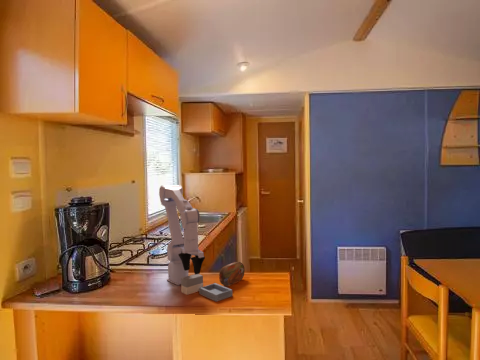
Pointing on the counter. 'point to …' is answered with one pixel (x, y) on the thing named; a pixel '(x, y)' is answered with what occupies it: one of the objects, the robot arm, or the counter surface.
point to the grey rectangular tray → (215, 292)
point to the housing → (191, 283)
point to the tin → (231, 273)
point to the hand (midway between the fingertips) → (191, 271)
